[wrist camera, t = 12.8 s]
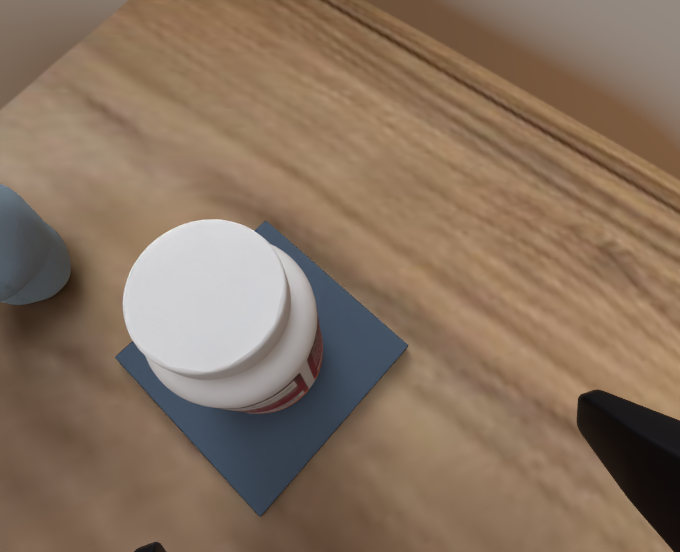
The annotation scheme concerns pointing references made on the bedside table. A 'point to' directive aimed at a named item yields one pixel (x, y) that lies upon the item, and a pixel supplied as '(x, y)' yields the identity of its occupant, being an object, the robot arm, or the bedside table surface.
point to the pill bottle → (224, 318)
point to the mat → (297, 419)
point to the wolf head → (29, 253)
